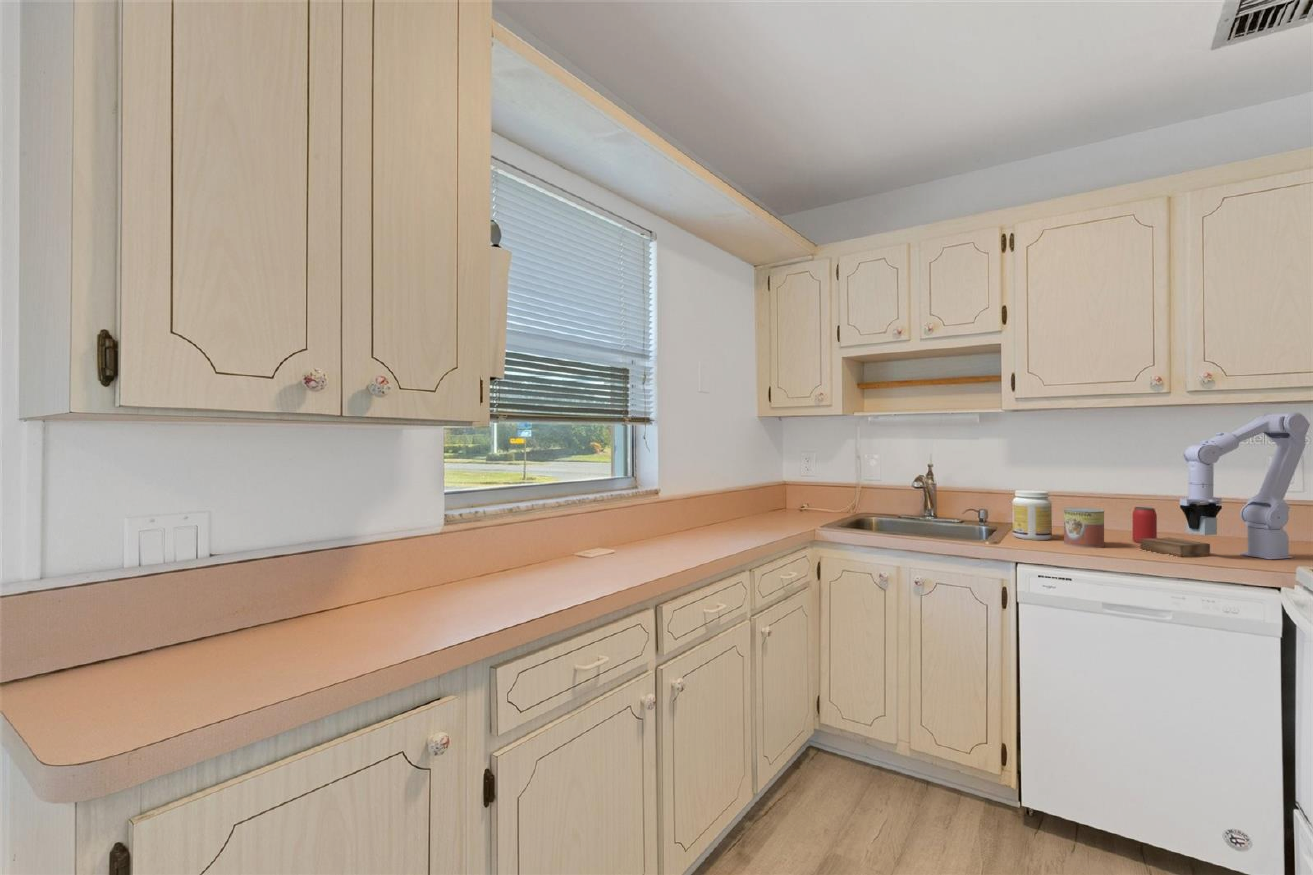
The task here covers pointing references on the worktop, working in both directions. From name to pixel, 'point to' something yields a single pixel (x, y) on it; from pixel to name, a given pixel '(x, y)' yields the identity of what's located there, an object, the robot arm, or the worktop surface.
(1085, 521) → the canned food
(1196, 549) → the walnut block
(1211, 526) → the slate cube
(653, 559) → the worktop surface
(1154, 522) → the beer can
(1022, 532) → the supplement tub
